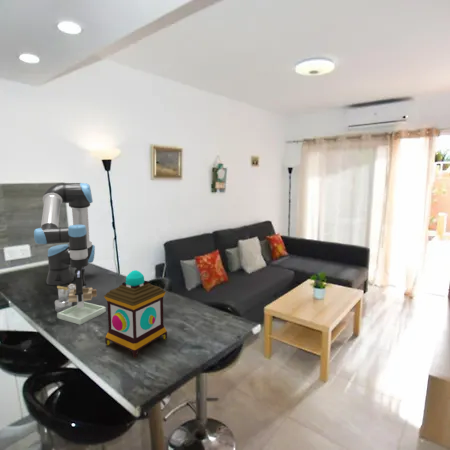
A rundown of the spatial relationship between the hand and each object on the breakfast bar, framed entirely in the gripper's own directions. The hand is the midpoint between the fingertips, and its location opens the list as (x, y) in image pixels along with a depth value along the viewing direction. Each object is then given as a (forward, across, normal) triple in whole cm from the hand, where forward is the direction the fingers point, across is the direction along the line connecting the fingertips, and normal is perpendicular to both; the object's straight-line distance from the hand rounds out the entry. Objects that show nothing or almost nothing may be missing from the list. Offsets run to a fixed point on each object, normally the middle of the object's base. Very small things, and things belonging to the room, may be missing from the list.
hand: (81, 303), depth 142 cm
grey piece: (+6, -11, -9) cm, 15 cm away
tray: (+6, 0, 0) cm, 6 cm away
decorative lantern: (+6, +34, +23) cm, 41 cm away
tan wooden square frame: (-3, 0, 0) cm, 3 cm away
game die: (+6, -26, -7) cm, 27 cm away
